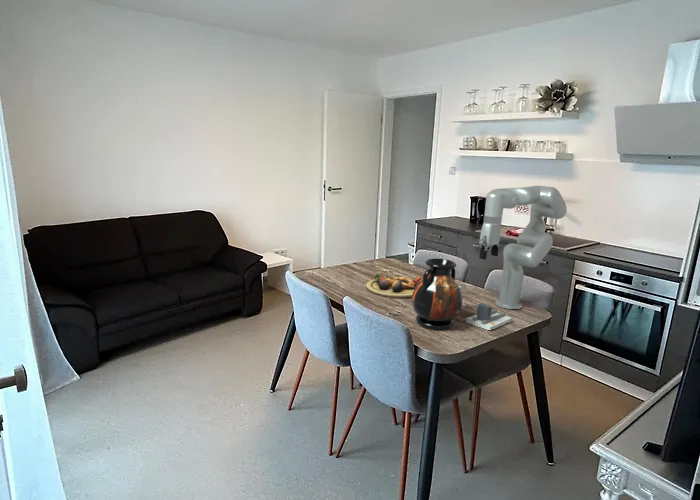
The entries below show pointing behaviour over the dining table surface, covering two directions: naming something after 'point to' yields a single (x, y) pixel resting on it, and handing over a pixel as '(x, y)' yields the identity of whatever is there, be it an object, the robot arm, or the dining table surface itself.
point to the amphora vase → (437, 296)
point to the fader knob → (484, 311)
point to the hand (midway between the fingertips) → (488, 257)
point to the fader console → (489, 320)
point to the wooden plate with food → (392, 286)
